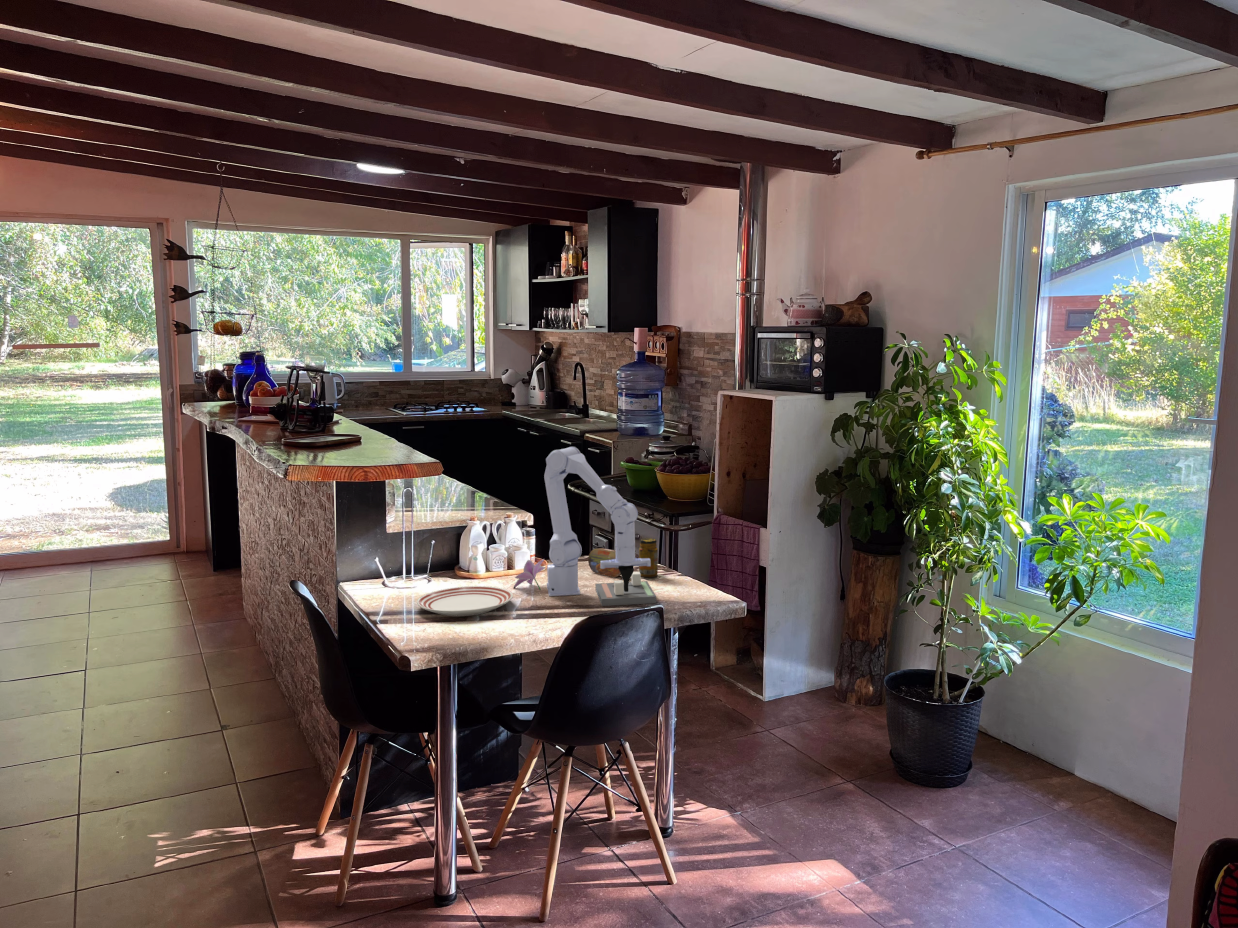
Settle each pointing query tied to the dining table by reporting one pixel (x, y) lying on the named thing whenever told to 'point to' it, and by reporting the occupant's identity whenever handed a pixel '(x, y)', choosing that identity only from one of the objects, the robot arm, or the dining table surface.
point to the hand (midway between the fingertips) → (626, 590)
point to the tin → (602, 555)
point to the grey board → (625, 594)
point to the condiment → (651, 552)
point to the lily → (529, 573)
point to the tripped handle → (619, 587)
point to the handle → (636, 579)
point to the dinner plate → (464, 600)
